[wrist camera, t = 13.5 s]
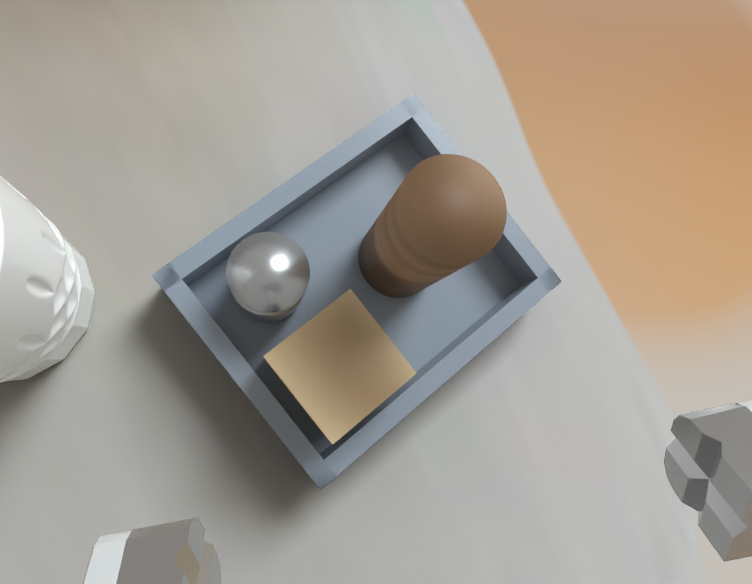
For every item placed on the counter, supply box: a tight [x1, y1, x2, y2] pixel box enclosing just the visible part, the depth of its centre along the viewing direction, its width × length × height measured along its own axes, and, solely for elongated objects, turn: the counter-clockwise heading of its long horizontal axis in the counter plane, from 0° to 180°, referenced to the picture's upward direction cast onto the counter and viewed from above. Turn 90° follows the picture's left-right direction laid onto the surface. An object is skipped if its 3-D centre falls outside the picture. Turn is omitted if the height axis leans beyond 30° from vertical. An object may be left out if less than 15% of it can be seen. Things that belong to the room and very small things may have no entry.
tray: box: [152, 93, 561, 490], centre depth 25 cm, size 14×11×3 cm
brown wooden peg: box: [358, 154, 507, 298], centre depth 22 cm, size 4×4×8 cm
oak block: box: [263, 289, 417, 444], centre depth 22 cm, size 4×4×4 cm
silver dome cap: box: [226, 232, 310, 323], centre depth 22 cm, size 3×3×4 cm
